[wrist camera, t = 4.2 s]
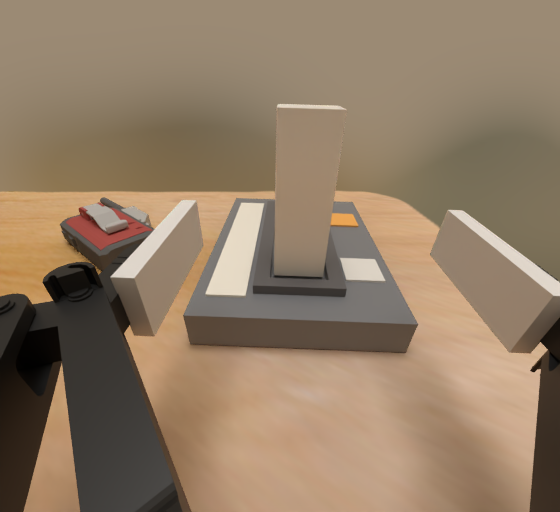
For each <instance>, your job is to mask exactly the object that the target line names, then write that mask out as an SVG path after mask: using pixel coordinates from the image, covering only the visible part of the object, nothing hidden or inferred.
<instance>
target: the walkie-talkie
mask: <svg viewBox="0 0 560 512" xmlns="http://www.w3.org/2000/svg"><path fill="white" fill-rule="evenodd" d="M100 202H101V203H102V204H101V203H96V204H92V205H88V206H85V207H81V208H79V212H80V215H77V216H74V217H70V218H67V219H66V220H64V221H63V222H62V223H61V224H60V226H61V228H62V230H63V231H62V233H63V235H64V237H65V239H66V240H67V241H68V242H69V243H70V244H71V245H72V246H73V247H74V248H76V249H77V250H78V251H79V252H80V253H81V254H82V255H84V256H86V258H88V260H90V262H92V263H93V264H94V265H95V266H96V267H97V268H99V270H100V269H101V271H103V270H104V269H105V268H106V267H107V266H108V265H109V264H111V262H112V261H113V260H114V259H115V258H117V256H118V255H119V254H120V253H121V252H122V251H123V250H124V249H126V248H128V247H130V246H132V245H133V244H142V243H143V241H144V240H145V239H146V238H147V237H148V236H149V235H150V234H151V233H152V232H153V231H154V230H155V229H153V228H152V227H151V223H150V220H149V216H148V214H146V213H144V212H142V211H141V210H139V209H137V207H135V206H132V207H128V208H123V207H122V206H120V205H118V204H116V203H114V202H112V201H110V200H109V199H107V198H101V199H100ZM104 205H105V206H104ZM106 206H107V207H106Z"/></svg>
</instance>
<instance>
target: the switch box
mask: <svg viewBox="0 0 560 512" xmlns="http://www.w3.org/2000/svg"><path fill="white" fill-rule="evenodd" d="M274 242H275V200H272V199H243V198H236V200H235V202H234V205H233V207H232V209H231V211H230V213H229V216H228V218H227V220H226V222H225V224H224V227H223V229H222V231H221V233H220V235H219V238H218V240H217V242H216V244H215V246H214V249H213V251H212V253H211V255H210V258H209V260H208V262H207V264H206V266H205V269H204V271H203V273H202V275H201V277H200V280H199V282H198V284H197V286H196V288H195V291H194V293H193V295H192V297H191V299H190V302H189V304H188V306H187V308H186V310H185V313H184V315H183V316H184V321H185V325H186V329H187V333H188V337H189V341H190V344H200V345H225V346H251V347H276V348H302V349H327V350H353V351H378V352H404V353H406V350H407V348H408V346H409V344H410V341H411V339H412V337H413V335H414V332H415V330H416V328H417V326H418V323H417V322H416V320H415V318H414V316H413V314H412V312H411V310H410V308H409V307H408V305H407V303H406V301H405V299H404V297H403V295H402V294H401V292H400V290H399V288H398V286H397V284H396V282H395V280H394V279H393V277H392V275H391V273H390V271H389V269H388V267H387V266H386V264H385V262H384V260H383V258H382V256H381V254H380V252H379V251H378V249H377V247H376V245H375V243H374V241H373V239H372V238H371V236H370V234H369V232H368V230H367V228H366V226H365V225H364V223H363V221H362V219H361V217H360V215H359V213H358V211H357V210H356V208H355V206H354V204H353V202H334V203H333V210H332V217H331V224H330V231H329V238H328V245H327V252H326V259H325V266H324V273H323V277H309V276H282V275H274Z"/></svg>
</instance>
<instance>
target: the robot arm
mask: <svg viewBox="0 0 560 512" xmlns="http://www.w3.org/2000/svg"><path fill="white" fill-rule="evenodd" d="M202 247H203V239H202V233H201V226H200V220H199V213H198V207H197V201H196V200H182V201H181V202H180V203H179V204H178V205H177V206H176V207H175V208H174V209H173V210H172V211H171V212H170V213H169V215H168V216H167V217H166V218H165V219H164V220H163V221H162V222H161V223H160V224H159V225H158V226H157V227H156V229H155V230H154V231H153V232H152V233H151V234H150V235H149V236H148V237H147V238H146V239H145V240H144V241H143V243H142V244H133V245H132V246H130V247H128V248H126V249H124V250H123V251H122V252H121V253H120V254H119V255H118V256H117V258H115V259H114V260H113V261H112V262H111V264H109V265H108V266H107V267H106V268H105V269H104V270H103V271H102V272H101V273H100V274H99V275H98V273H97V271H96V269H95V267H94V266H93V265H92V264H91V263H87V262H76V263H71V264H67V265H64V266H61V267H58V268H56V269H55V270H53V271H51V272H50V273H48V274H47V275H46V276H45V277H44V279H43V284H44V286H45V287H46V289H47V291H48V292H49V294H50V296H51V297H52V299H53V301H51V302H45V303H39V304H33V305H32V303H31V302H30V300H29V298H28V297H27V296H25V295H24V294H9V295H5V296H1V297H0V512H23V511H24V507H25V503H26V499H27V496H28V492H29V488H30V484H31V480H32V476H33V472H34V468H35V464H36V460H37V457H38V453H39V449H40V445H41V441H42V437H43V433H44V429H45V425H46V421H47V417H48V414H49V410H50V406H51V402H52V398H53V394H54V390H55V386H56V382H57V378H58V375H59V371H60V367H61V363H62V365H63V374H64V382H65V390H66V398H67V406H68V414H69V423H70V431H71V439H72V447H73V455H74V463H75V472H76V480H77V488H78V496H79V504H80V512H191V510H190V507H189V504H188V502H187V499H186V496H185V494H184V491H183V488H182V486H181V483H180V480H179V478H178V475H177V472H176V470H175V467H174V464H173V462H172V459H171V456H170V454H169V451H168V448H167V446H166V443H165V440H164V438H163V435H162V433H161V430H160V427H159V425H158V422H157V419H156V417H155V414H154V411H153V409H152V406H151V403H150V401H149V398H148V395H147V393H146V390H145V387H144V385H143V382H142V379H141V377H140V374H139V371H138V369H137V366H136V363H135V361H134V358H133V355H132V353H131V350H130V347H129V345H128V342H127V340H126V337H125V335H124V333H125V331H126V330H127V328H128V327H129V325H130V326H131V329H132V331H133V334H134V335H136V336H155V334H156V333H157V331H158V329H159V327H160V325H161V323H162V321H163V320H164V318H165V316H166V314H167V312H168V310H169V308H170V307H171V305H172V303H173V301H174V299H175V297H176V295H177V294H178V292H179V290H180V288H181V286H182V284H183V282H184V281H185V279H186V277H187V275H188V273H189V271H190V269H191V268H192V266H193V264H194V262H195V260H196V258H197V256H198V255H199V253H200V251H201V249H202ZM430 255H431V256H432V258H433V259H434V260H435V261H436V263H437V264H438V265H439V266H440V268H441V269H442V270H443V271H444V273H445V274H446V275H447V276H448V277H449V279H450V280H451V281H452V282H453V284H454V285H455V286H456V287H457V289H458V290H459V291H460V292H461V294H462V295H463V296H464V297H465V298H466V300H467V301H468V302H469V303H470V305H471V306H472V307H473V308H474V310H475V311H476V312H477V313H478V315H479V316H480V317H481V318H482V319H483V321H484V322H485V323H486V324H487V326H488V327H489V328H490V329H491V331H492V332H493V333H494V334H495V336H496V337H497V338H498V339H499V340H500V342H501V343H502V344H503V345H504V347H505V348H506V349H507V350H508V352H511V353H531V352H532V351H533V350H534V349H535V347H536V346H537V345H538V344H539V343H540V342H541V343H542V344H543V345H544V346H545V347H546V348H547V349H548V350H547V352H546V353H545V354H544V355H543V356H542V357H541V358H540V359H539V360H538V361H537V363H536V364H535V365H534V366H533V367H532V369H531V370H530V371H532V372H535V371H536V370H537V369H541V374H540V388H539V401H538V413H537V426H536V438H535V451H534V463H533V476H532V488H531V501H530V512H560V282H558V280H557V279H556V278H554V277H553V276H552V275H549V273H548V272H546V271H545V270H544V269H542V268H541V267H540V266H538V265H536V264H534V263H533V262H531V261H530V260H528V259H527V258H526V257H524V256H523V255H522V254H520V253H519V252H518V251H516V250H515V249H514V248H512V247H511V246H510V245H508V244H507V243H505V242H504V241H503V240H502V239H500V238H499V237H498V236H496V235H495V234H493V233H492V232H491V231H489V230H488V229H487V228H485V227H484V226H483V225H481V224H480V223H479V222H477V221H476V220H475V219H473V218H472V217H471V216H469V215H468V214H467V213H465V212H464V211H462V210H447V213H446V215H445V218H444V220H443V223H442V225H441V228H440V230H439V233H438V235H437V238H436V240H435V243H434V245H433V248H432V250H431V253H430Z"/></svg>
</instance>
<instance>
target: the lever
mask: <svg viewBox="0 0 560 512" xmlns="http://www.w3.org/2000/svg"><path fill="white" fill-rule="evenodd" d="M346 113H347V110H346V109H344V108H342V107H340V106H327V105H294V104H278V106H277V120H276V180H275V181H276V182H275V242H274V275H282V276H309V277H323V273H324V266H325V259H326V252H327V245H328V238H329V231H330V224H331V217H332V210H333V203H334V196H335V189H336V182H337V175H338V168H339V161H340V154H341V147H342V140H343V134H344V126H345V119H346Z"/></svg>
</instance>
